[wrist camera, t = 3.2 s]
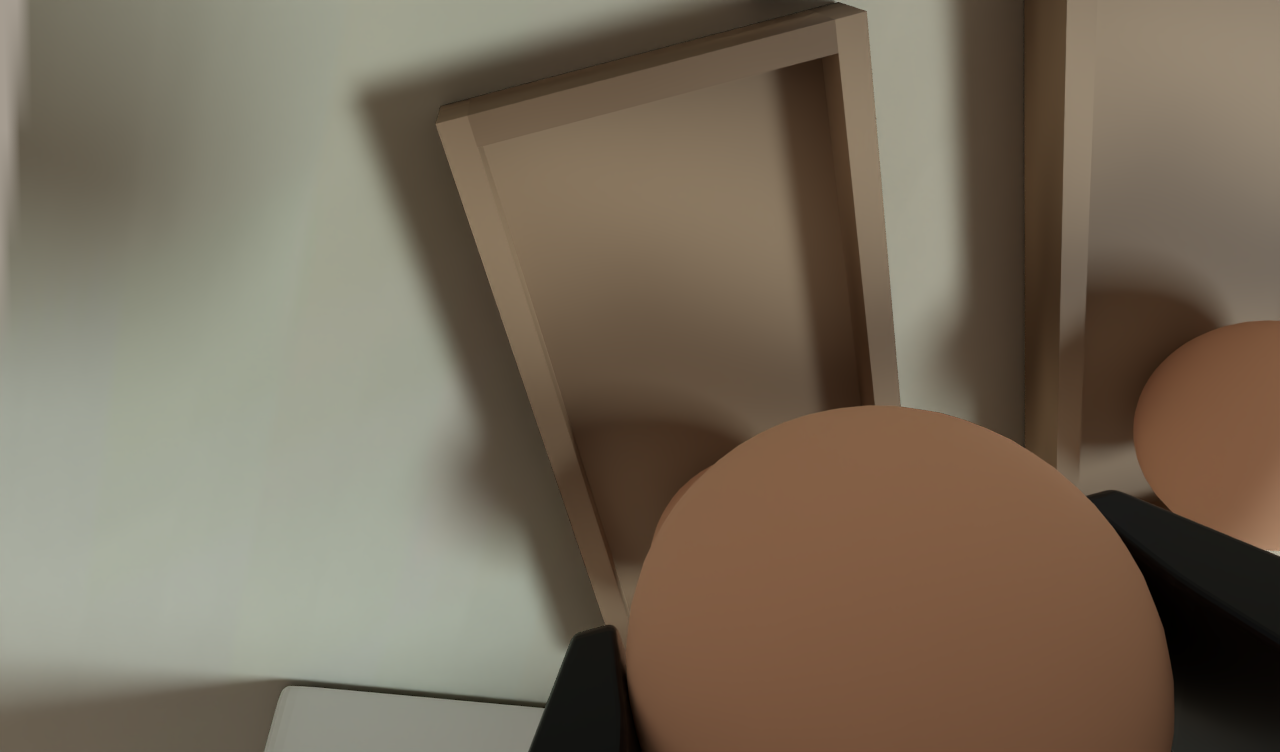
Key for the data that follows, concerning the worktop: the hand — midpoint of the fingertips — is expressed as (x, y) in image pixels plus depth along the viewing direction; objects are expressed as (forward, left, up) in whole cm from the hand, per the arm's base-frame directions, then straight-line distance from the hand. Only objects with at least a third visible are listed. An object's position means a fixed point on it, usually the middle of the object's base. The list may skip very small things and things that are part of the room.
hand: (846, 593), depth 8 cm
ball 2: (-6, -10, -6) cm, 13 cm away
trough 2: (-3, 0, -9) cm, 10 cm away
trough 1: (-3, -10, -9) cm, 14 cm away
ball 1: (0, 0, +1) cm, 1 cm away
